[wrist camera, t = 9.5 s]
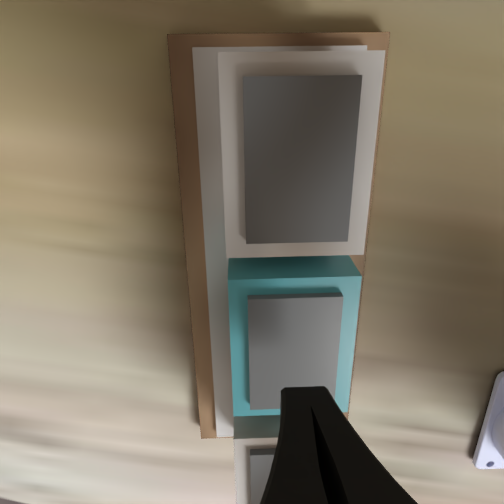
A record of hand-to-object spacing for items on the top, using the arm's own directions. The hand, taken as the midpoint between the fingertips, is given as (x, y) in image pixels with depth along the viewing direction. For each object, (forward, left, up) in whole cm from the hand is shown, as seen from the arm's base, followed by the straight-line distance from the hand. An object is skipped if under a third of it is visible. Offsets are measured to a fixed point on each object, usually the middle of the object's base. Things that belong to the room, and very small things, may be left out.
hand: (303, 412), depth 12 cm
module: (0, 0, -9) cm, 9 cm away
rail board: (0, 0, -10) cm, 10 cm away
